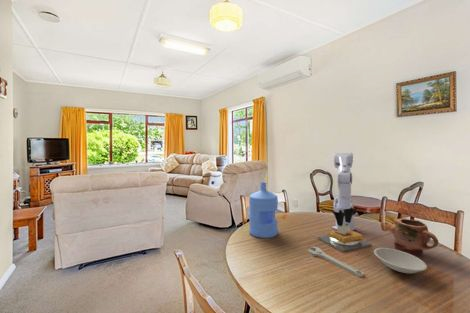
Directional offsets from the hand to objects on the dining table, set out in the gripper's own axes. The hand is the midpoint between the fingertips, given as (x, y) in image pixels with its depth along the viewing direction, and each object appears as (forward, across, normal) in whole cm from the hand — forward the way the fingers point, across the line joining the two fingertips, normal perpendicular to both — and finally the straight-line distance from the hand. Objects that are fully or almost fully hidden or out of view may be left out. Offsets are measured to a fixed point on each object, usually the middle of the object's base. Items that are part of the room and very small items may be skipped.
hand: (343, 223), depth 112 cm
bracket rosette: (+9, 0, 0) cm, 9 cm away
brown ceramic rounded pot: (+10, -13, +24) cm, 29 cm away
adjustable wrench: (+10, +22, +7) cm, 25 cm away
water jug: (+10, +23, -33) cm, 42 cm away
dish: (+10, +8, +26) cm, 29 cm away
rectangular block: (+7, 0, 0) cm, 7 cm away
